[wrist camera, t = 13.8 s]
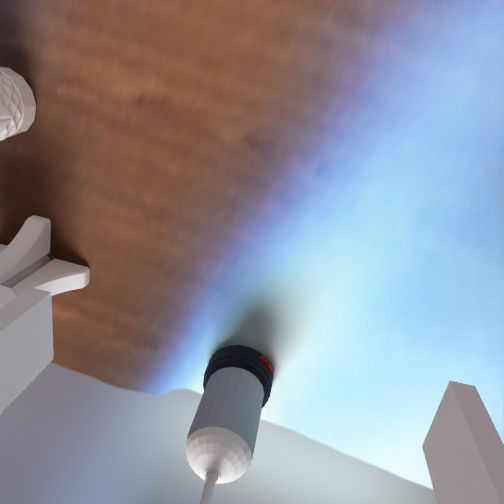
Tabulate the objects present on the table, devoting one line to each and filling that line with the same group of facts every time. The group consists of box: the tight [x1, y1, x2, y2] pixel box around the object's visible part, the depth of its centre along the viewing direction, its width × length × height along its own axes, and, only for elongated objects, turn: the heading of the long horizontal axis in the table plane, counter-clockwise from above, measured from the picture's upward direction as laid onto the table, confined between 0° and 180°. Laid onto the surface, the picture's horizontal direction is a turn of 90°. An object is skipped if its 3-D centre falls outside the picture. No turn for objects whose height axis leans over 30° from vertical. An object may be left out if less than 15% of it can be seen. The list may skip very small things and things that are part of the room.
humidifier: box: [186, 345, 273, 504], centre depth 42 cm, size 8×8×25 cm
